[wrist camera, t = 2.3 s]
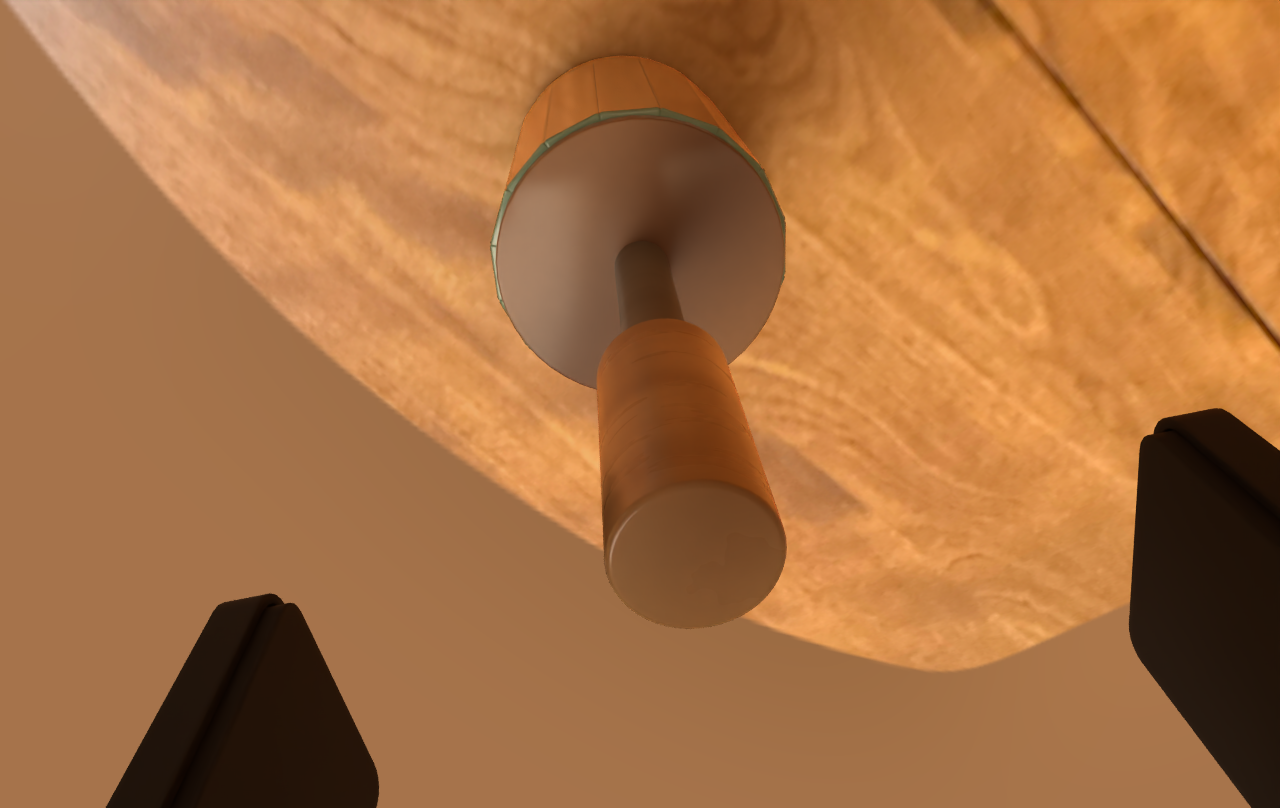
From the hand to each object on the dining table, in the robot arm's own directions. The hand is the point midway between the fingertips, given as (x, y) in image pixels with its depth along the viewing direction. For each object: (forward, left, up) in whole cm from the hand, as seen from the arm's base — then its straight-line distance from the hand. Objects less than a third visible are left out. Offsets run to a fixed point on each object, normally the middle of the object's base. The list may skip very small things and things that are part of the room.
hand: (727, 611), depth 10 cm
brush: (0, 0, -20) cm, 20 cm away
